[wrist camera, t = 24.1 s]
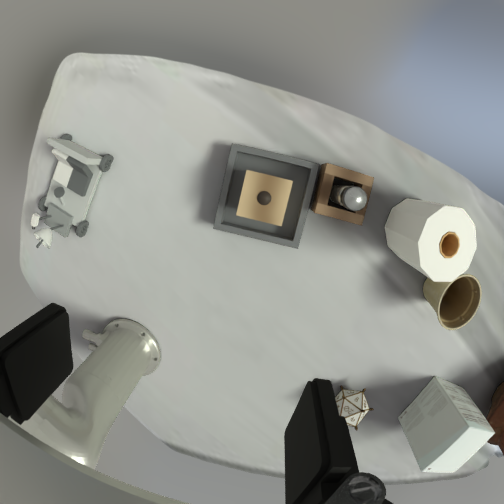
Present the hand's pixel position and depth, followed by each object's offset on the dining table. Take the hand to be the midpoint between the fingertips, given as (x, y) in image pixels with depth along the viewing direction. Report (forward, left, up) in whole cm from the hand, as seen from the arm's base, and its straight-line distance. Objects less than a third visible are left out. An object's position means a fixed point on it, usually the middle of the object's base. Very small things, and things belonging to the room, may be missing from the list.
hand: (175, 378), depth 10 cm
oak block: (+1, +5, -36) cm, 36 cm away
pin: (+12, +8, -36) cm, 39 cm away
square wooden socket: (+12, +8, -36) cm, 39 cm away
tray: (+1, +5, -36) cm, 37 cm away
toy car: (-32, -1, -37) cm, 49 cm away
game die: (+26, -28, -36) cm, 53 cm away
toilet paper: (+26, +6, -37) cm, 45 cm away
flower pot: (+35, -2, -36) cm, 51 cm away
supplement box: (+50, -29, -37) cm, 68 cm away
